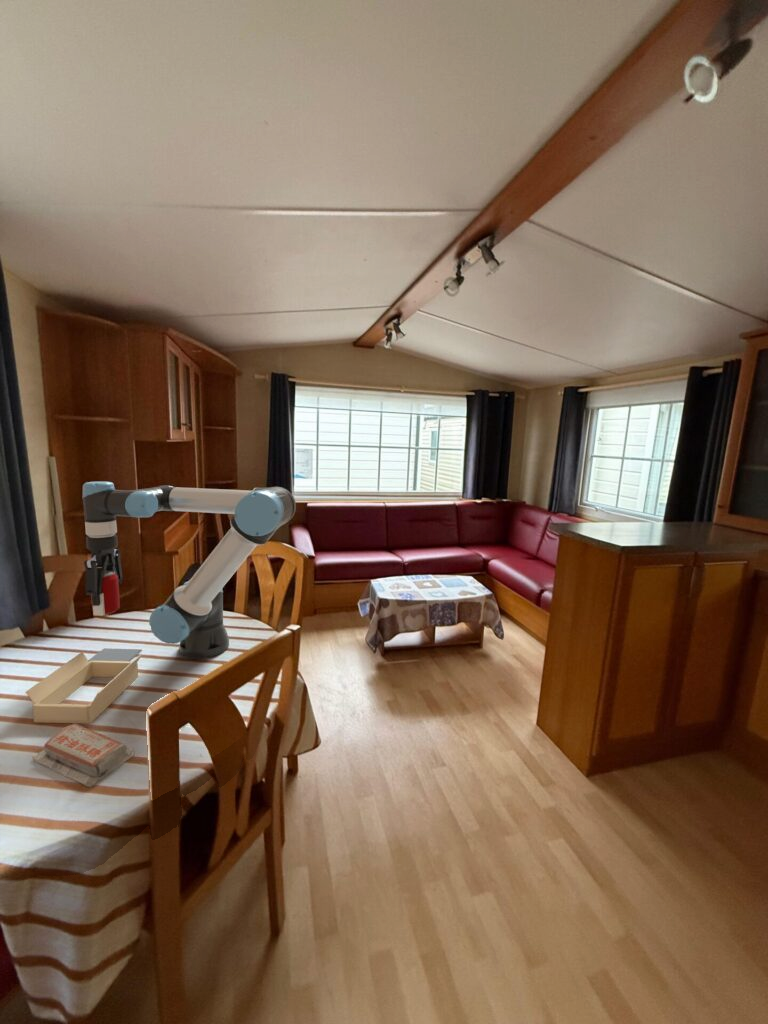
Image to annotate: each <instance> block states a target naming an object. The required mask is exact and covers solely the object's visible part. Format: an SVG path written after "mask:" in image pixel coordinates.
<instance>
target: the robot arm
mask: <svg viewBox="0 0 768 1024" xmlns="http://www.w3.org/2000/svg"><path fill="white" fill-rule="evenodd" d="M81 497H82V498H81V499H82V504H83V505H82V506H83V514H84V526H85V528H84V529H85V535H86V537H85V541H86V542H85V543H86V549H87V550H88V551H90V552H91V555H90V559H88V560H87V559H86V560H84V562H83V564H84V569H85V595H86V596H87V595H88V596H89V595H90V596H91V595H92V596H91V605H92V604H93V607H92V612H93V616H101V617H102V616H105V608H104V594H103V593H101V591H102V584H103V576H104V571H105V570H107V571H115V573H116V575H117V576H118V585H122V583H123V577H124V576H123V570H122V562H121V561H122V560H121V549H120V548H119V549H116V548H117V547H118V546H119V543H118V541H119V540H118V535H117V533H118V527H117V526H118V525H117V517H130V518H136V519H139V518H140V519H142V518H151V517H153V516H154V514H155V513H156V512H161V511H163V512H164V511H165V512H190V513H209V514H224V515H225V514H227V515H228V514H230V515H232V516H231V518H230V521H229V523H230V529H228V531H227V532H226V534H225V535H224V536H223V537H222V538H221V540H220V541H219V542H218V544H217V545H216V546H215V547H214V549H212V551H211V553H209V554H208V556H207V558H206V559H205V560H204V561H203V563H202V564H201V566H199V568H198V569H197V570H196V571H195V572H194V574H193V575H192V577H191V578H190V579H189V580H188V581H185V582H184V583H183V585H180V586H177V588H175V589H174V591H173V592H172V593H171V595H170V596H169V597H168V598H167V600H166V601H165V602H163V604H161V605H159V606H157V607H156V608H155V609H154V610H153V611H152V612H151V614H150V615H149V621H148V622H149V626H150V631H151V632H152V634H153V635H154V636H155V637H156V638H157V639H158V640H159V641H160V642H163V643H165V644H173V645H174V644H179V645H178V646H179V654H180V655H181V656H182V657H185V658H187V659H193V660H201V659H208V658H212V657H216V656H217V655H220V654H222V653H223V652H225V651H226V650H227V649H228V648H229V645H230V638H229V635H228V632H227V629H226V628H225V625H224V594H223V593H224V591H223V588H224V587H225V585H226V584H227V583H228V582H229V581H230V579H231V578H232V577H233V575H235V573H236V572H237V571H238V570H239V568H240V567H241V565H243V564H244V562H245V561H246V560H247V558H248V557H249V556H250V555H251V553H252V552H253V551H254V550H255V548H256V547H257V546H264V545H266V544H267V542H268V541H269V540H270V539H271V538H272V536H273V535H274V534H275V533H276V532H277V530H278V529H279V528H280V527H281V526H283V525H285V524H287V523H288V522H290V520H291V519H293V517H294V515H295V513H296V510H297V509H296V508H297V505H296V499H295V498H294V495H293V494H292V493H291V492H290V491H289V490H288V489H287V488H284V487H281V486H271V487H270V486H269V487H254V488H253V489H252V490H245V489H244V490H242V489H226V488H225V489H224V488H223V489H220V488H200V487H198V488H197V487H177V486H176V487H175V486H172V485H158V486H154V487H149V488H140V489H132V490H129V489H128V490H127V489H116V488H115V484H114V482H111V481H89V482H88V481H86V482H85V483H83V485H82V496H81Z"/></svg>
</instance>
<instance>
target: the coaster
mask: <svg viewBox="0 0 768 1024" xmlns="http://www.w3.org/2000/svg"><path fill="white" fill-rule="evenodd" d="M142 650H143V649H142V648H141V649H140V648H137V649H135V648H102V649H101V650H99V651H98V652H97V653H96V654H94V655H92V657H90V658H89V659H88V661H89V662H90V661H130V662H132V660H133V659H134V658H135V657H136V656H138V655H139V654H141V652H142Z"/></svg>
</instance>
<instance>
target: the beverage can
mask: <svg viewBox="0 0 768 1024" xmlns="http://www.w3.org/2000/svg"><path fill="white" fill-rule="evenodd" d="M118 576H119V575H118ZM118 576H117V575H116V573H115V571H107V570H105V571H104V576H103V584H102V591H101V593H103V594H104V608H105V615H111V614H114V613H115V612H116V611H118V610H119V609H120V607H121V606H120V605H121V603H120V586H119V585H120V584H118ZM90 596H91V597H92V595H90ZM91 605H92V608H93V604H92V603H91ZM105 615H104V616H105Z"/></svg>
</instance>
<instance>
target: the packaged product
mask: <svg viewBox="0 0 768 1024" xmlns="http://www.w3.org/2000/svg"><path fill="white" fill-rule="evenodd" d="M134 756H135V749H134V748H131V747H130V746H127V745H126V743H123V742H121V741H119V740H116V739H114V738H112V737H110V736H107V735H103V734H101V733H99V732H97V731H94V730H91V729H89V728H87V727H85V726H81V725H80V724H78V723H71V724H69V725H67V726H65V727H63V728H62V729H61V730H60V731H58V732H57V733H56V734H55V735H54V736H53V737H51V738H50V739H48V740H47V742H46V743H44V746H43V749H42V750H41V751H39V752H38V753H37V755H34V756H31V757H32V760H33V761H34V762H36V763H38V764H41V765H43V766H45V767H47V768H49V769H50V770H53V771H55V772H57V773H59V774H60V775H62V776H64V777H66V778H67V779H68V778H69V779H72V780H74V781H76V782H77V783H80V784H82V785H83V786H86V787H89V788H92V787H93V786H95V785H96V784H97V783H99V782H100V781H102V780H103V779H104V778H106V777H107V776H109V775H110V774H111V773H112V772H114V771H115V770H116V769H117V768H119V767H120V766H121V765H123V764H125V762H127V761H128V760H130V759H131V758H132V757H134Z"/></svg>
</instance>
